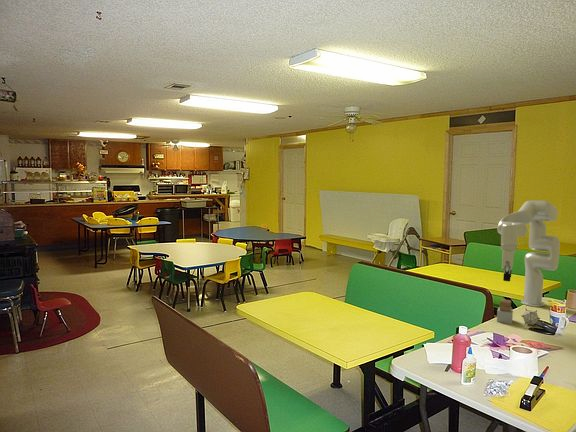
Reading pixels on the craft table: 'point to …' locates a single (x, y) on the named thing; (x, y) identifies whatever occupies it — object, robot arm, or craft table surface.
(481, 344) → the craft table surface
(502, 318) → the grey block
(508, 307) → the walnut block
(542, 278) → the robot arm
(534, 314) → the grey spiky ball
